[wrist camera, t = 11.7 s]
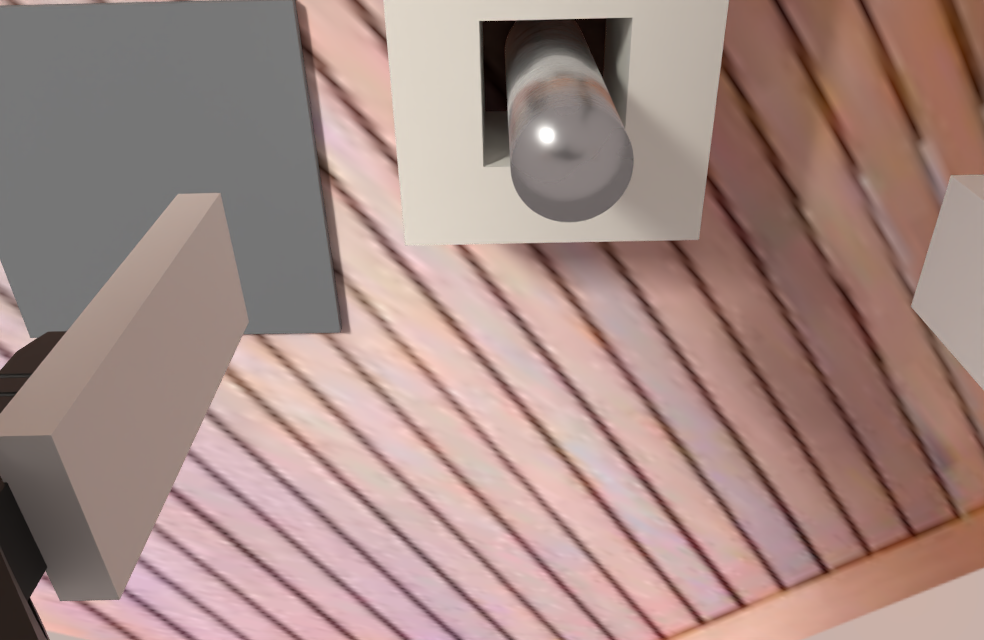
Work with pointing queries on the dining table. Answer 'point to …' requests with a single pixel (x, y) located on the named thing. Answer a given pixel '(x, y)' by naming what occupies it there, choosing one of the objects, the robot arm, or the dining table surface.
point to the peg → (562, 124)
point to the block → (485, 134)
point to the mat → (159, 151)
